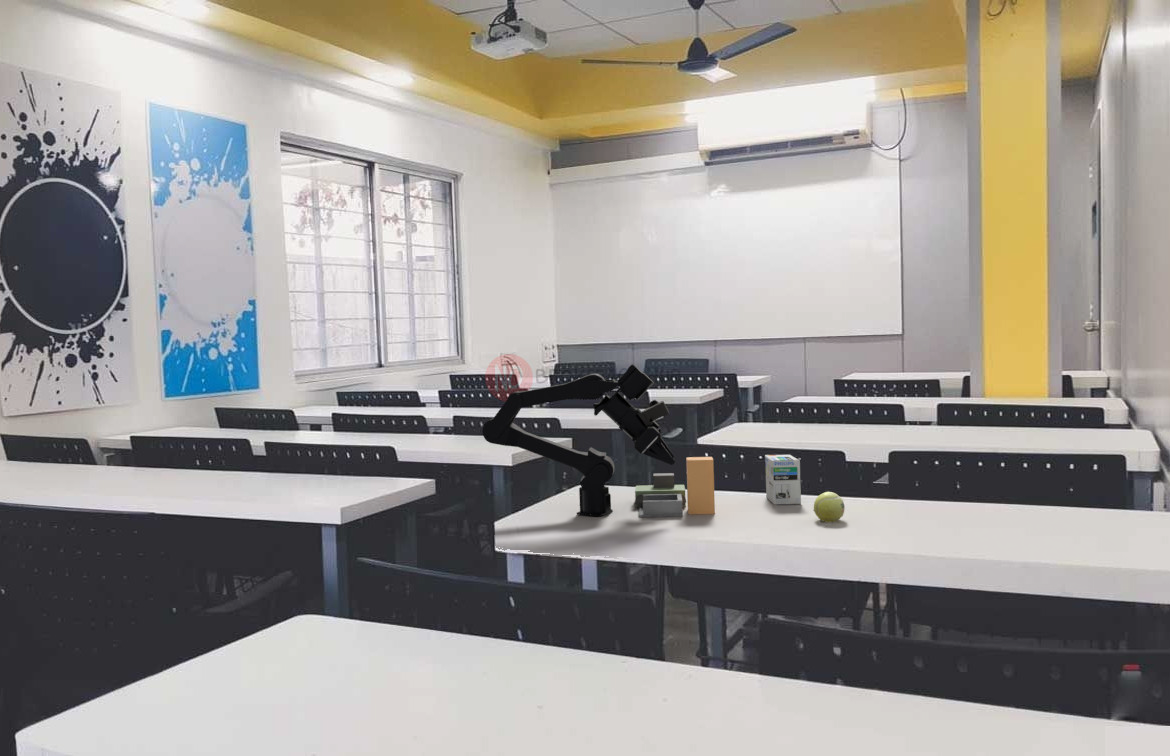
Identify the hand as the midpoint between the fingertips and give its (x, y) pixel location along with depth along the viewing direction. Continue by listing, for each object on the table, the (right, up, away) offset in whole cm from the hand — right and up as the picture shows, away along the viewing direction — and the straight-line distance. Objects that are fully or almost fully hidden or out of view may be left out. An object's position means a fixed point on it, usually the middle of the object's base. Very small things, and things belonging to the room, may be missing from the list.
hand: (673, 460), depth 210 cm
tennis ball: (+32, -12, -14) cm, 37 cm away
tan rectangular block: (+6, -12, 0) cm, 14 cm away
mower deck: (-2, -12, +11) cm, 16 cm away
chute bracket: (-3, -12, +1) cm, 13 cm away
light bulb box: (+28, -11, +10) cm, 32 cm away
